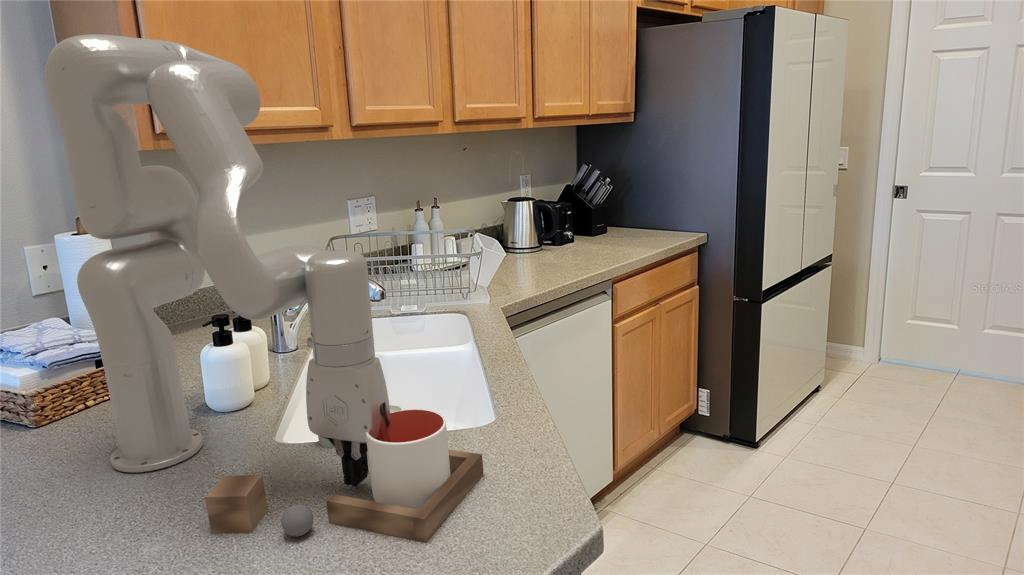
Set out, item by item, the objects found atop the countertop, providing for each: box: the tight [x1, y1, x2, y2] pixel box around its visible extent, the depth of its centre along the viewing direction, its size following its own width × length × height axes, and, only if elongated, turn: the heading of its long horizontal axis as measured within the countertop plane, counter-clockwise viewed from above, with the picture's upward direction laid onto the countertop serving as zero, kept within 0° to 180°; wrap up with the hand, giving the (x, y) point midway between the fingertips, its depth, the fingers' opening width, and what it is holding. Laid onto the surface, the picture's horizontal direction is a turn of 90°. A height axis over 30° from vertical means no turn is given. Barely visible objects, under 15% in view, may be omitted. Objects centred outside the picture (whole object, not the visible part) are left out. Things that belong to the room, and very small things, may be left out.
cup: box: [366, 408, 451, 510], centre depth 88 cm, size 10×10×10 cm
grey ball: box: [281, 503, 314, 537], centre depth 82 cm, size 4×4×4 cm
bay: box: [325, 448, 485, 543], centre depth 88 cm, size 14×16×3 cm
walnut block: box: [204, 474, 268, 535], centre depth 85 cm, size 5×5×5 cm
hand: (356, 480), depth 92 cm, fingers closed
